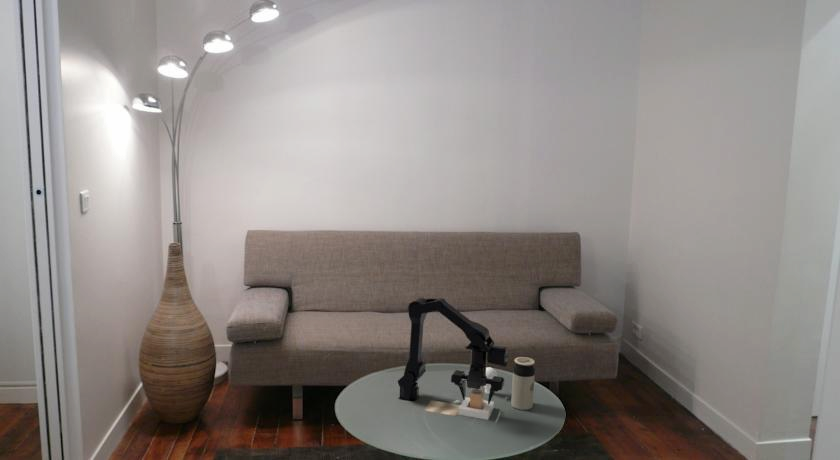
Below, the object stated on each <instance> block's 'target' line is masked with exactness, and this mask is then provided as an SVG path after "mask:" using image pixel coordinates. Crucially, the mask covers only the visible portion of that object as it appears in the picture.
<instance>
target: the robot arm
mask: <svg viewBox="0 0 840 460" xmlns="http://www.w3.org/2000/svg"><path fill="white" fill-rule="evenodd" d="M407 311H408V312H407V313H408V319H409V320H410V323H411V325H410V338H409V339H410V341H409V356H408V360H407V363H406V365H405V369H404V372H403V376H401V377H400V378H399V379H398V380H397V384H398V386H399V397H398V398H397V399H398V400H400V401H406V402H413V403H414V402H415V401H416V400H417V399H419V395H420V387H419V382H418V381H419V380H420V379H421V378H422V377H423V376H424V375H425V373H426V372H427V371H426V365H427V362H426V361H423V358H422V350H423V349H422V348H423V335H424V322H425V319H426V317H427V315H428V313H432V312H439V313H440V315H442V316H444V317H445V318H446V319H447V320H449V321H450V322H451V323H452V324H453V325H455V326H456V327H457V328H458V329H460V330H461V331H462V332H463V334H464V335H465V337H466V339H468V341H469V343H468V344H467V345H466V346H465V349H466V350H470V351H471V352H470V366H469V371H468V373H467V374H466V371H464V370H457V369H456V370H454V372H453V373H451V376H450V382H451V383H452V384H453V383H454V385H455V386H457V387H458V388H459V390H460V395H461V397H462V399H463V400H465V397H467V396H466V395H467V393H466V392H467V389H466V387H467V388H468V389H477V390H481V387H484V386H486V384H491V388H490V393H489V394H488V400H487V401H488V404H490V401H492V399H493V397H494V394H495V392H498V391H501V390H503V388H504V386H505V378H504V377H502V376H498V375H497V376H494V377H493V379H488V378H487V376H486V368H487V365H488V363H489V365H494V366H498V367H504V368H506V367H507V365H508V362H509V352H508V347H507V346H498V345H495V342H494V339H493V338H492V337H491V335H490V331H489V329H488V328H487V327H486V326H484V325H482V324H481V323H479V322H476V321H473V320H470V318H468V317H466V316H465V315H464V314H463V313H461V312H460V311H459V310H458V309H456V308H455V307H454V306H452V305H451V304H450V303H449V302H447V301H446V299H445V298H444V297H439V298H425V297H417V298H416V299H414V300H413V301H411V302H410V303H408V307H407ZM463 400H462V401H463Z"/></svg>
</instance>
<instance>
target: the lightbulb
mask: <svg viewBox="0 0 840 460" xmlns="http://www.w3.org/2000/svg"><path fill="white" fill-rule="evenodd" d="M486 376H487V378H488V379H493V377H494V376H497V377H498V373H497V371H496V369H495V368H492V367H491V366H490V367H487V366H486ZM483 387H484V393H485V394H487V395H489V393H490V388H491V384H486V386H483Z"/></svg>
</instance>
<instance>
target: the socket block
mask: <svg viewBox="0 0 840 460" xmlns="http://www.w3.org/2000/svg"><path fill="white" fill-rule="evenodd" d="M459 405H460V407H459V410H458V413H457V415H459V416H465V417H469V418H470V417H471V418H477V419H482V420H486V421H488V420H489V419H490V416H491V415H492V412H493V410H494V408H495V407H494V406H495V401H492V400H491V401H490V404H488V400H485V399H483V409H482V410H481V409H475V408H470V397H469V396H468V397H467V396H466V397H465V400H462V401H461V403H460V404H459Z"/></svg>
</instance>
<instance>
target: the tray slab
mask: <svg viewBox="0 0 840 460" xmlns="http://www.w3.org/2000/svg"><path fill="white" fill-rule="evenodd" d="M460 405H461V404H456V403H449V402H444V401H438V400H433V399H431V400H430V401H429V403H428V404H427V406H426V407H425V408H424V410H423V411H426V412H432V413H437V414H442V415H446V416H447V415H448V416H453V417H457V415H458V410H459V407H460Z"/></svg>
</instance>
